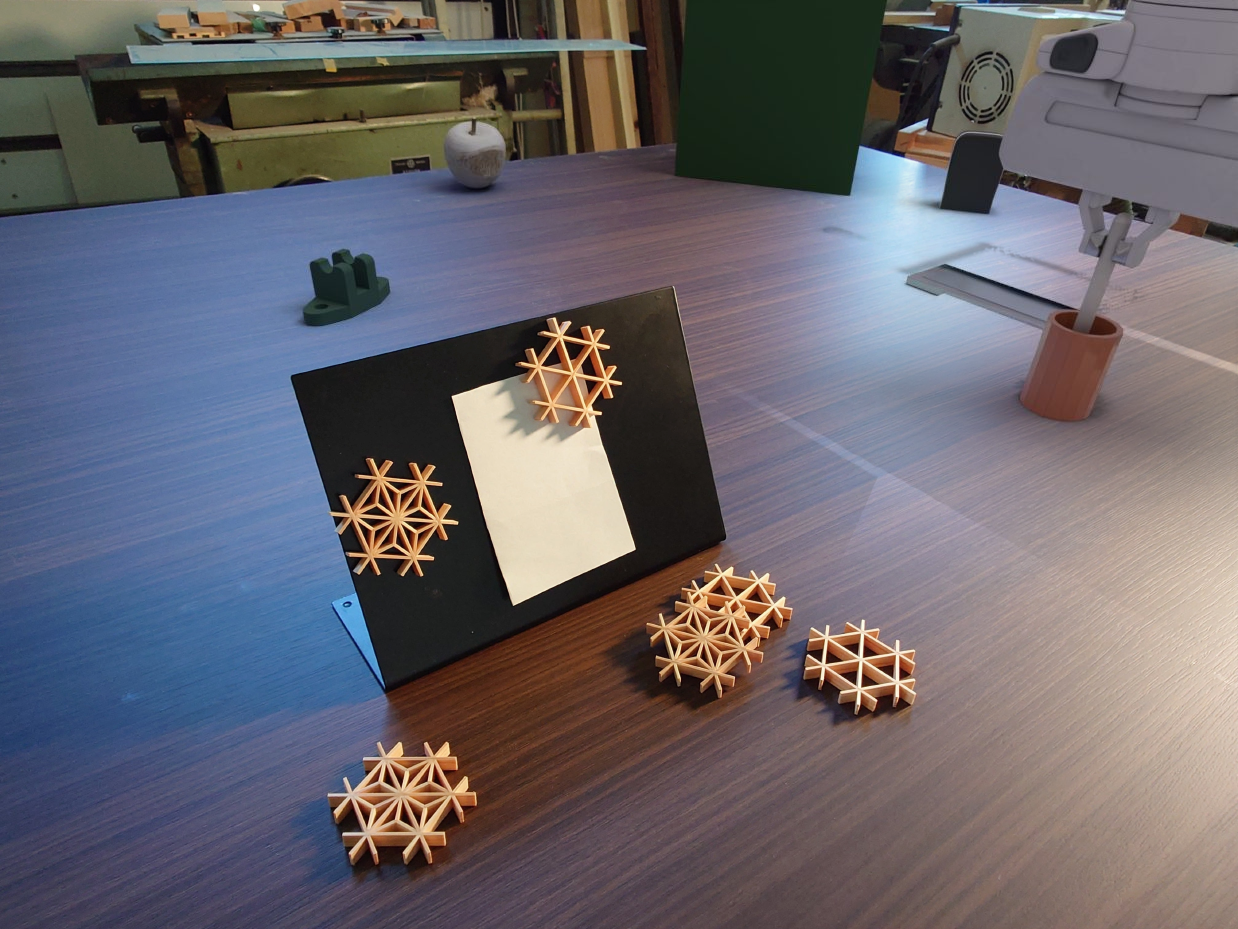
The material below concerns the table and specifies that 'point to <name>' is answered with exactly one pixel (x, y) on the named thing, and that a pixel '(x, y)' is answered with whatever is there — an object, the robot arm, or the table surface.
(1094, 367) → the pen cup
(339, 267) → the mount
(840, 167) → the binder
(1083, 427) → the table surface
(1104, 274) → the stylus
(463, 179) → the decorative object
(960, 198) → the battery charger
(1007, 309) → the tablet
